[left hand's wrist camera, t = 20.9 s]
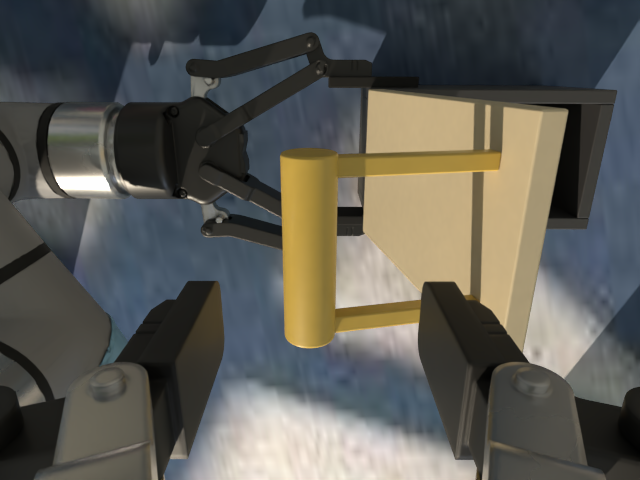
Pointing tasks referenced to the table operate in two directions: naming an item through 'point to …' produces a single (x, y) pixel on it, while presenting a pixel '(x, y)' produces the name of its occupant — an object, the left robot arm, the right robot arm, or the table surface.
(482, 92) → the chest
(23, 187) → the right robot arm
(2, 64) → the table surface
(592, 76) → the table surface
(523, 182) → the lid
